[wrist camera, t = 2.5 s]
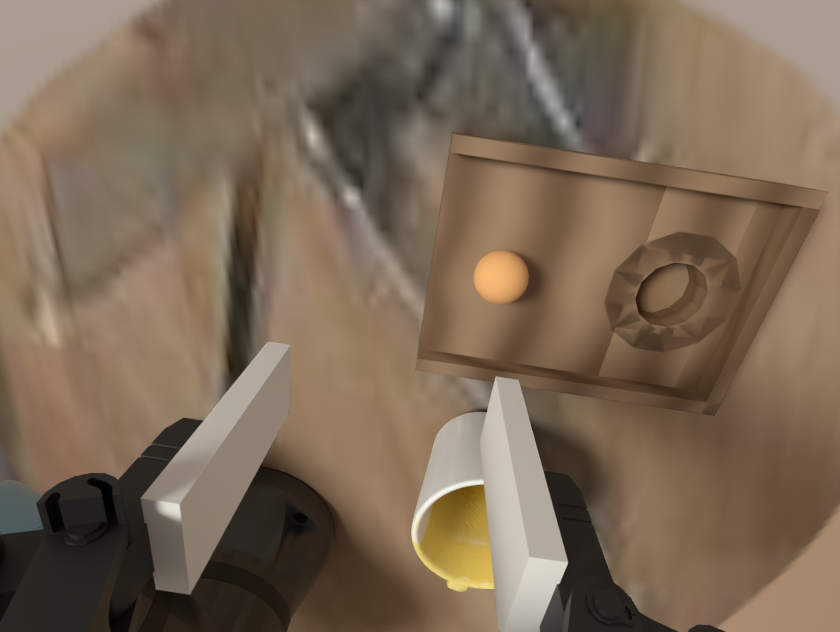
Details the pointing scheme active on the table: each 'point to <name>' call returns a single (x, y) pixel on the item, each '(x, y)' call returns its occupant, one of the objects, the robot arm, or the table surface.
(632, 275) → the board
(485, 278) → the ball
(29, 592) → the robot arm
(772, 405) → the table surface
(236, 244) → the table surface
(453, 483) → the mug
